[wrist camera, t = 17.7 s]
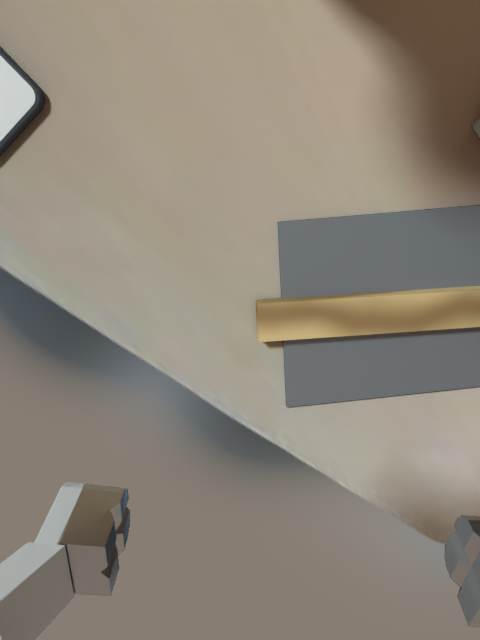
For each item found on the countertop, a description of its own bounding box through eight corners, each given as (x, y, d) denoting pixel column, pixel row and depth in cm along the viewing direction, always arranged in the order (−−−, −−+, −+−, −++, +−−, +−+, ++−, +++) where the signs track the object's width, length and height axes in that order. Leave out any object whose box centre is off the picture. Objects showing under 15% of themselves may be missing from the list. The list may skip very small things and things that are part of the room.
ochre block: (255, 299, 45) (257, 303, 44) (484, 285, 47) (493, 288, 46) (257, 337, 47) (258, 342, 45) (479, 321, 48) (488, 326, 47)
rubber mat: (277, 222, 44) (278, 222, 43) (515, 202, 45) (518, 202, 45) (286, 405, 50) (286, 407, 49) (495, 383, 51) (497, 384, 51)
